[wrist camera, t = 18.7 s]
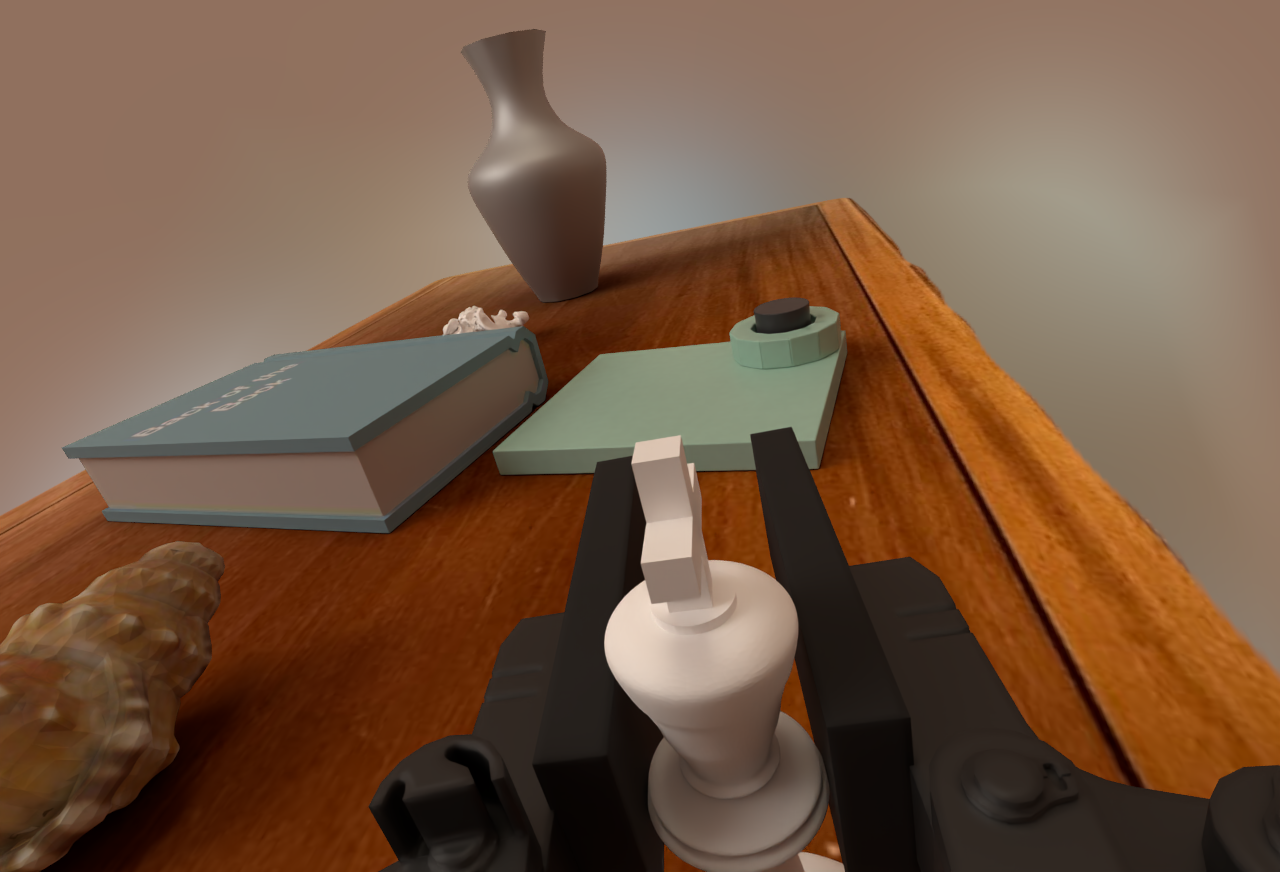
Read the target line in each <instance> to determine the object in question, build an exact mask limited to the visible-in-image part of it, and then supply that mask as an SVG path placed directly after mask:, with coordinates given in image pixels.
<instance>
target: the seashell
mask: <svg viewBox="0 0 1280 872" xmlns="http://www.w3.org/2000/svg"><path fill="white" fill-rule="evenodd" d="M224 568H225V565H224V560H223V558H222V557H221V556H220V555H219V554H217V553H216V552H214V551H212V550H210V549H208V548H205V547H204V546H202V545H201V544H200V543H190V542H181V541H176V542H174V543H168V544H165V545H162V546H159V547H157V548H155V549H153V550H151V551H149V552H148V553H146V554H145V555H144V556H143V557H142V558H141V559H140V560H139V561H138V562H134V563H132V564H129V565H126V566H123V567H120V568H117V569H114V570H110V571H109V572H108V573H106V574H104V575H102V576H100V577H98V578H96V579H95V580H94V581H93V582H92V583H91V584H90V585H89V586H88V587H87V588H86V590H85V591H83V592H82V593H81V594H80V595H78V596H77V597H75V598H73V599H71V600H69V601H67V602H65V603H63V604H56V603H47V604H44V605H41V606H38V607H37V608H36V609H35V610H34V611H33V612H32V613H31V614H28V615H24V616H22V617H21V618H19V619H18V620H17V621H16V622H15V623H14V625H13V627H12V628H11V630H10V632H9V634H8V636H7V638H6V639H5V640H4V641H3V642H2V643H1V644H0V872H39V871H41V870H43V869H44V868H46V867H48V866H50V865H51V864H53V863H55V862H56V861H58V860H59V859H60V858H62V857H63V856H64V855H65V854H67V853H68V851H69V849H70V848H71V846H72V845H73V843H74V842H75V841H77V840H78V839H79V838H80V837H82V836H83V835H84V834H85V833H87V832H88V831H89V830H91V829H92V828H93V827H95V826H96V825H98V824H99V823H100V822H102V821H103V820H104V818H105V817H106V815H107V814H109V813H111V812H113V811H115V810H118V809H121V808H124V807H126V806H127V805H129V804H130V803H131V802H132V801H133V800H134V799H135V798H136V797H137V796H138V794H139V793H140V791H141V789H142V788H143V787H144V786H145V785H146V784H147V783H148V782H149V781H150V780H151V779H152V778H153V777H154V776H155V775H156V774H158V773H159V772H161V771H162V770H163V769H165V768H166V767H167V766H168V765H170V764H171V763H172V762H173V760H174V758H175V757H176V755H177V753H178V751H179V749H180V747H179V744H178V742H177V740H176V738H175V736H174V728H175V722H176V717H177V713H178V710H179V707H180V704H181V703H180V698H181V697H182V696H183V695H185V694H186V693H187V692H189V691H190V689H191V688H192V686H193V685H194V683H195V682H196V681H197V680H198V678H199V677H200V676H201V675H202V673H203V672H204V670H205V669H206V667H207V665H208V664H209V662H210V660H211V656H212V645H211V640H210V634H209V626H208V624H207V623H208V622H209V620H210V619H211V618H212V616H213V615H214V613H215V611H216V610H217V608H218V606H219V604H220V598H221V594H220V586H219V584H218V580H219V579H220V577H221V576H222V575H223V573H224Z"/></svg>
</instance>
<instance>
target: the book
mask: <svg viewBox="0 0 1280 872" xmlns="http://www.w3.org/2000/svg"><path fill="white" fill-rule="evenodd" d="M547 386H548V379H547V375H546V372H545V368H544V365H543V361H542V358H541V354H540V351H539V347H538V344H537V341H536V337H535V334H533V333H532V332H530V331H529V330H528V329H526V328H525V327H524V326H520V327H512V328H503V329H494V330H486V331H477V332H468V333H460V334H451V335H442V336H433V337H425V338H416V339H407V340H399V341H390V342H381V343H373V344H364V345H355V346H346V347H338V348H329V349H320V350H312V351H303V352H294V353H286V354H277V355H273V356H270V357H268V358H266V359H264V362H262V363H254V364H252V365H250V366H248V367H245V368H243V369H241V370H238V371H236V372H234V373H231V374H229V375H227V376H225V377H222V378H220V379H218V380H215V381H213V382H211V383H209V384H206V385H204V386H202V387H199V388H197V389H195V390H193V391H190V392H188V393H186V394H183V395H181V396H179V397H177V398H174V399H172V400H170V401H167V402H165V403H163V404H161V405H158V406H156V407H154V408H151V409H149V410H147V411H145V412H142V413H140V414H138V415H136V416H133V417H131V418H129V419H126V420H124V421H122V422H119V423H117V424H115V425H113V426H111V427H108V428H106V429H103V430H101V431H99V432H97V433H95V434H92V435H90V436H87V437H85V438H83V439H81V440H78V441H76V442H74V443H72V444H69V445H67V446H65V447H63V448H62V449H63V451H64V452H65V454H66V455H67V457H68V458H79V459H80V461H81V462H82V464H83V466H84V467H85V469H86V471H87V472H88V474H89V475H90V477H91V479H92V480H93V482H94V484H95V485H96V487H97V488H98V490H99V492H100V493H101V495H102V496H103V498H104V500H105V501H106V503H107V504H108V506H109V507H108V508H106V509H105V510H103V511H102V513H103V514H104V516H105V517H106V519H107V521H121V522H144V523H167V524H190V525H212V526H235V527H258V528H281V529H304V530H327V531H350V532H372V533H390V532H392V531H393V530H394V529H395V528H396V527H397V526H399V525H400V524H401V523H402V522H403V521H404V520H406V519H407V518H408V517H409V516H410V515H411V514H413V513H414V512H415V511H416V510H417V509H418V508H420V507H421V506H422V505H423V504H424V503H425V502H427V501H428V500H429V499H430V498H431V497H432V496H434V495H435V494H436V493H437V492H438V491H439V490H441V489H442V488H443V487H444V486H445V485H446V484H448V483H449V482H450V481H451V480H452V479H453V478H455V477H456V476H457V475H458V474H459V473H460V472H462V471H463V470H464V469H465V468H466V467H467V466H469V465H470V464H471V463H472V462H473V461H474V460H476V459H477V458H478V457H479V456H480V455H481V454H483V453H484V452H485V451H486V450H487V449H488V448H490V447H491V446H492V445H493V444H494V443H495V442H497V441H498V440H499V439H500V438H501V437H502V436H504V435H505V434H506V433H507V432H508V431H509V430H511V429H512V428H513V427H514V426H515V425H516V424H518V423H519V422H520V421H521V420H522V419H523V418H525V417H526V416H527V415H528V414H529V413H530V412H532V407H533V406H539V405H540V404H541V403H542V402H543V401H545V397H546V392H547Z"/></svg>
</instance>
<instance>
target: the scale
mask: <svg viewBox="0 0 1280 872" xmlns="http://www.w3.org/2000/svg"><path fill="white" fill-rule="evenodd" d="M809 307H810V316H811V325H809V326H807V327H805V328H801V329H798V330H794V331H790V332H786V333H775V334H764V333H757V329H756V322H755V315H754V316H752V317H749V318H747V319H745V320H743V321H741V322H739V323H737V324H735V326H734V327H733V328H732V330H731V331H730V333H729V334H730V340H731V342H723V343H713V344H703V345H692V346H682V347H672V348H662V349H651V350H641V351H631V352H620V353H610V354H600V355H599V356H598V357H597V358H596V359H594V360H593V361H592V362H591V363H590V364H589V365H588V366H587V367H586V368H584V369H583V370H582V371H581V372H580V373H579V374H578V375H577V376H576V377H574V378H573V379H572V380H571V381H570V382H569V383H568V384H567V385H566V386H564V387H563V388H562V389H561V390H560V391H559V392H558V393H557V394H556V395H554V396H553V397H552V398H551V399H550V400H549V401H548V402H547V403H546V404H544V405H543V406H542V407H541V408H540V409H539V410H538V411H537V412H536V413H534V414H533V415H532V416H531V417H530V418H529V419H528V420H527V421H526V422H524V423H523V424H522V425H521V426H520V427H519V428H518V429H517V430H516V431H514V432H513V433H512V434H511V435H510V436H509V437H508V438H507V439H506V440H504V441H503V442H502V443H501V444H500V445H499V446H498V447H497V448H496V449H494V450H493V455H494V458H495V461H496V464H497V467H498V469H499V472H500V475H515V474H568V473H595V468H596V464H597V462H600V461H606V460H611V459H617V458H622V457H628V456H633V453H634V448H635V444H636V442H642V441H648V440H654V439H660V438H666V437H672V436H678V435H681V438H682V443H683V447H684V452H685V457H686V461H687V464H689V463H694V465H695V469H696V471H730V470H756V467H755V461H754V455H753V449H752V443H751V438H750V434H754V433H759V432H765V431H770V430H776V429H781V428H787V427H792V428H793V431H794V433H795V436H796V438H797V441H798V443H799V446H800V448H801V450H802V453H803V455H804V458H805V460H806V463H807V465H808V468H809V469H819V467H820V463H821V459H822V454H823V450H824V446H825V442H826V438H827V434H828V430H829V426H830V421H831V417H832V413H833V409H834V405H835V401H836V397H837V392H838V388H839V384H840V380H841V376H842V372H843V368H844V364H845V359H846V355H847V344H846V333H845V331H841V328H840V317H839V313H837V312H835V311H833V310H831V309H829V308H827V307H813V306H809Z"/></svg>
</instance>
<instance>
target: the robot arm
mask: <svg viewBox="0 0 1280 872" xmlns="http://www.w3.org/2000/svg"><path fill="white" fill-rule="evenodd" d="M750 438H751V443H752V449H753V455H754V461H755V467H756V473H757V479H758V485H759V491H760V497H761V502H762V508H763V514H764V520H765V526H766V532H767V538H768V544H769V550H770V556H771V560H772V564H773V569H774V573H775V577H776V581H777V582H779V583H780V584H781V585H782V586H783V588H784V589H785V590H786V591H787V592H788V594H789V595H790V597H791V599H792V601H793V603H794V605H795V608H796V612H797V617H798V640H797V647H796V652H795V656H794V658H795V662H796V666H797V670H798V675H799V679H800V683H801V687H802V692H803V696H804V700H805V704H806V708H807V713H808V717H809V721H810V725H811V730H812V734H813V738H814V742H815V745H816V747H817V748H818V750H819V752H820V754H821V756H822V758H823V762H824V766H825V770H826V774H827V778H828V783H829V787H830V795H829V806H830V810H831V814H832V819H833V823H834V827H835V831H836V836H837V840H838V844H839V848H840V852H841V857H842V861H843V865H844V869H845V872H1280V766H1279V765H1273V766H1255V767H1242V768H1240V769H1239V770H1237V771H1235V772H1233V773H1231V774H1229V775H1227V776H1225V777H1223V778H1221V779H1219V781H1218V783H1217V785H1216V787H1215V789H1214V791H1213V793H1212V795H1211V798H1210V799H1206V798H1200V797H1194V796H1187V795H1181V794H1175V793H1169V792H1163V791H1157V790H1150V789H1144V788H1138V787H1133V786H1129V785H1124V784H1120V783H1116V782H1112V781H1108V780H1105V779H1103V778H1100V777H1098V776H1095V775H1093V774H1090V773H1088V772H1086V771H1083V770H1081V769H1079V768H1077V767H1076V766H1075V765H1074V764H1073V763H1072V761H1071V760H1069V759H1068V758H1066V757H1065V756H1064V755H1062V754H1061V753H1060V752H1058V751H1057V750H1055V749H1054V748H1053V747H1051V746H1050V745H1048V744H1047V743H1046V742H1044V741H1041V740H1039V739H1038V737H1037V736H1036V735H1035V733H1034V732H1033V731H1032V730H1031V728H1030V727H1029V726H1028V724H1027V723H1026V721H1025V720H1024V718H1023V716H1022V715H1021V713H1020V711H1019V710H1018V708H1017V706H1016V705H1015V703H1014V701H1013V700H1012V698H1011V696H1010V695H1009V693H1008V691H1007V690H1006V688H1005V686H1004V685H1003V683H1002V681H1001V680H1000V678H999V676H998V675H997V673H996V671H995V670H994V668H993V666H992V665H991V663H990V661H989V660H988V658H987V656H986V655H985V653H984V651H983V650H982V648H981V646H980V645H979V643H978V641H977V640H976V638H975V636H974V635H973V633H970V630H969V626H968V625H967V623H966V621H965V620H964V618H963V616H962V615H961V613H960V611H959V610H958V609H956V606H955V603H954V601H953V600H952V598H951V596H950V595H949V593H948V591H947V590H946V588H945V586H944V585H943V583H942V581H941V580H940V578H939V577H938V576H937V575H935V574H934V573H933V572H931V571H930V570H928V569H927V568H925V567H924V566H923V565H921V564H920V563H918V562H917V561H915V560H914V559H913V558H911V557H905V558H899V559H892V560H886V561H879V562H873V563H866V564H860V565H853V566H849V565H848V563H847V561H846V558H845V556H844V553H843V551H842V548H841V546H840V543H839V541H838V539H837V536H836V534H835V531H834V529H833V526H832V524H831V521H830V519H829V517H828V514H827V512H826V509H825V507H824V504H823V502H822V499H821V497H820V495H819V492H818V490H817V487H816V485H815V482H814V480H813V477H812V475H811V472H810V470H809V468H808V465H807V463H806V460H805V458H804V455H803V453H802V450H801V448H800V446H799V443H798V441H797V438H796V436H795V433H794V431H793V428H792V427H787V428H781V429H776V430H770V431H765V432H759V433H754V434H750ZM632 458H633V456H628V457H622V458H617V459H611V460H606V461H600V462H597V464H596V468H595V473H594V478H593V482H592V487H591V492H590V496H589V501H588V506H587V510H586V515H585V520H584V524H583V529H582V534H581V538H580V543H579V548H578V552H577V557H576V562H575V566H574V571H573V576H572V580H571V585H570V589H569V594H568V599H567V603H566V608H565V612H564V613H558V614H551V615H545V616H538V617H532V618H525V619H521V621H520V622H519V623H518V624H517V626H516V627H515V628H514V629H513V631H512V632H511V633H510V634H509V636H508V637H507V638H506V639H505V641H504V642H503V643H502V644H501V647H500V650H499V653H498V656H497V659H496V662H495V665H494V668H493V671H492V679H490V681H489V684H488V687H487V690H486V693H485V696H484V698H485V702H484V703H482V705H481V708H480V711H479V715H478V718H477V721H476V724H475V727H474V730H473V733H472V734H470V735H453V736H447V737H445V738H442V739H439V740H436V741H434V742H431V743H428V744H426V745H424V746H422V747H421V748H419V749H418V750H416V751H415V752H413V753H412V754H411V755H409V756H408V757H406V758H405V759H403V760H402V761H401V762H400V763H399V764H398V765H397V766H396V767H395V768H394V769H393V770H392V771H391V772H390V774H389V775H388V776H387V777H386V778H385V779H384V780H383V781H382V782H381V784H380V786H379V788H378V790H377V792H376V793H375V795H374V797H373V799H372V801H371V803H370V805H369V808H370V810H371V812H372V814H373V816H374V817H375V819H376V821H377V823H378V824H379V826H380V828H381V830H382V831H383V833H384V835H385V837H386V838H387V840H388V842H389V844H390V845H391V847H392V849H393V851H394V853H395V854H396V856H397V858H398V860H399V861H397V862H395V863H394V864H392V865H390V866H388V867H386V868H384V869H383V870H381V871H379V872H664V842H663V841H662V840H661V838H660V837H659V835H658V833H657V832H656V830H655V828H654V826H653V823H652V821H651V818H650V814H649V810H648V778H649V770H650V765H651V761H652V758H653V755H654V753H655V751H656V749H657V747H658V745H659V744H660V742H661V741H662V739H663V738H664V736H663V734H662V733H661V731H660V729H659V728H658V726H657V725H656V724H655V723H654V722H653V721H652V719H651V718H650V717H649V716H648V715H647V714H645V713H644V712H643V711H642V710H641V709H640V708H638V706H637V705H636V704H635V703H634V702H633V701H632V700H631V698H630V697H629V696H628V695H627V693H626V692H625V691H624V690H623V688H622V687H621V686H620V684H619V683H618V681H617V680H616V678H615V677H614V675H613V673H612V671H611V669H610V667H609V665H608V662H607V659H606V655H605V647H604V640H605V632H606V628H607V625H608V622H609V619H610V617H611V615H612V613H613V612H614V610H615V608H616V607H617V606H618V604H619V603H620V602H621V600H622V599H623V598H624V597H625V596H626V595H627V594H628V593H629V592H630V591H631V590H632V589H633V588H635V587H636V586H637V585H639V584H640V583H641V582H643V581H644V580H645V578H644V574H643V570H642V567H641V557H642V550H643V543H644V536H645V529H646V520H645V516H644V512H643V508H642V504H641V500H640V496H639V492H638V488H637V484H636V480H635V476H634V473H633V469H632V465H631V463H632Z"/></svg>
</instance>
